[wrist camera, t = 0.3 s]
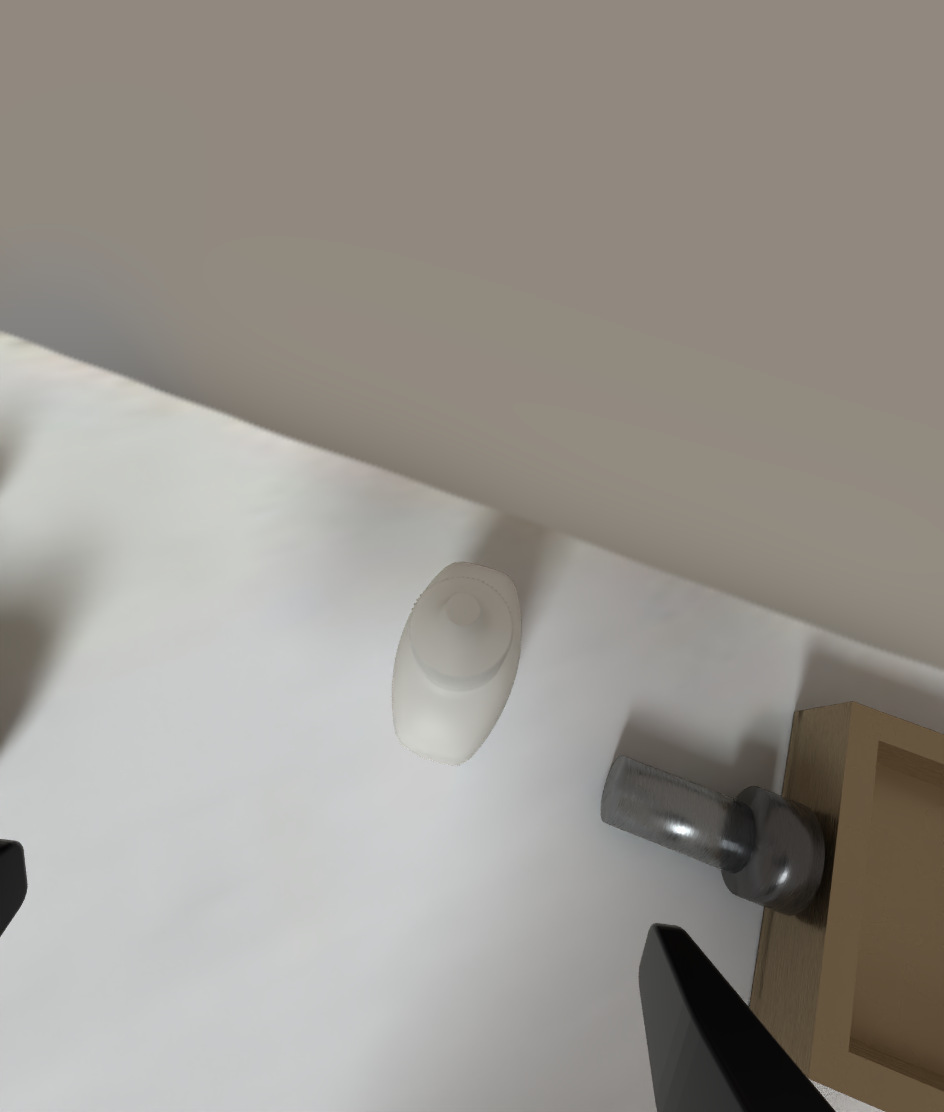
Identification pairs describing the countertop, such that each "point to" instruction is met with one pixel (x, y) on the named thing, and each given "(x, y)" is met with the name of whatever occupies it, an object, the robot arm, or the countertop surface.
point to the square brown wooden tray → (864, 913)
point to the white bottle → (456, 663)
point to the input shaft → (723, 832)
